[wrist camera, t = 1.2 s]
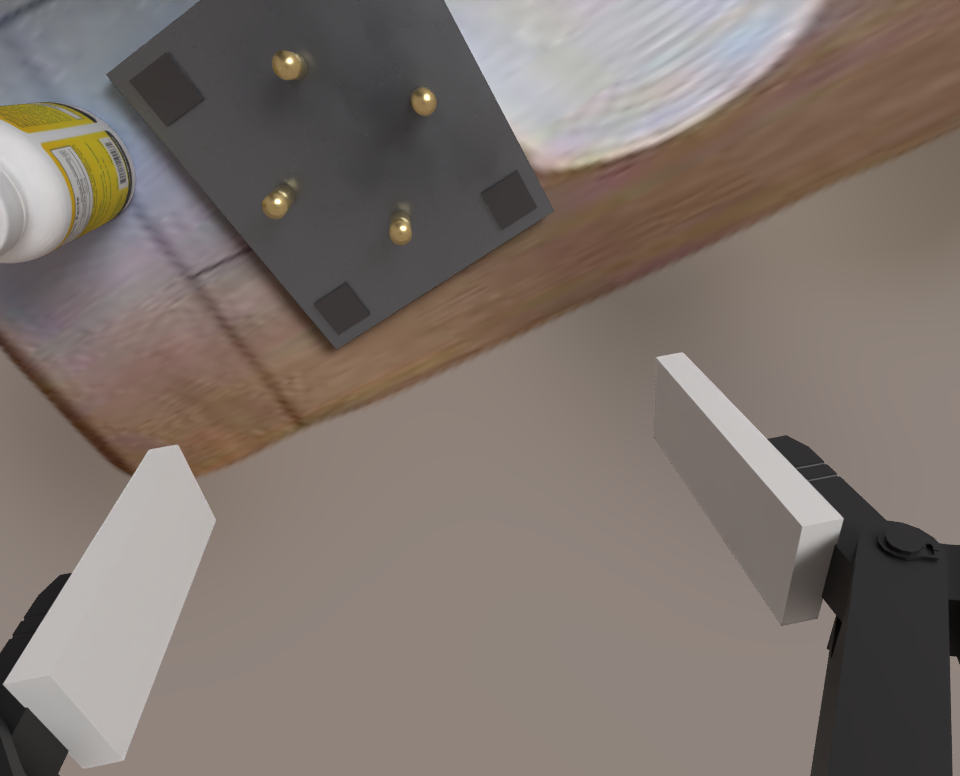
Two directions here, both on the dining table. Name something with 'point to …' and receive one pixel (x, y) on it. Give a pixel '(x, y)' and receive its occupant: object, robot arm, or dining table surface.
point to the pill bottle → (57, 177)
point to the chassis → (339, 144)
